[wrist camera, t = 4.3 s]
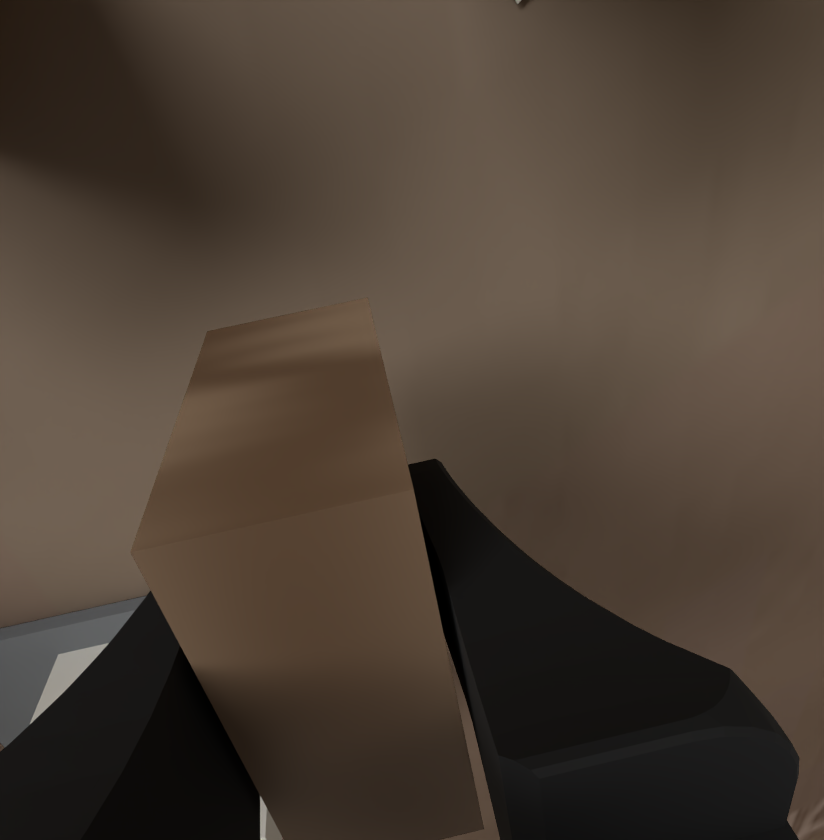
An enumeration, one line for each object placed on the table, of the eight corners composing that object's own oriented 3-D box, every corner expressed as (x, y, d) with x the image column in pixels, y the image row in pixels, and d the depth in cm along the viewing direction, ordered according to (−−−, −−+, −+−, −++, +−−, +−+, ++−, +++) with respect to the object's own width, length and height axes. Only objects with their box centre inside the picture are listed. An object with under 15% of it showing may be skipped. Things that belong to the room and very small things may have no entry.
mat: (116, 861, 31) (113, 875, 30) (-65, 643, 23) (-73, 656, 22) (439, 784, 32) (441, 797, 31) (377, 544, 23) (379, 555, 23)
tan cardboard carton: (303, 597, 15) (302, 873, 10) (207, 331, 12) (130, 552, 7) (425, 569, 15) (483, 829, 10) (367, 297, 12) (413, 489, 7)
